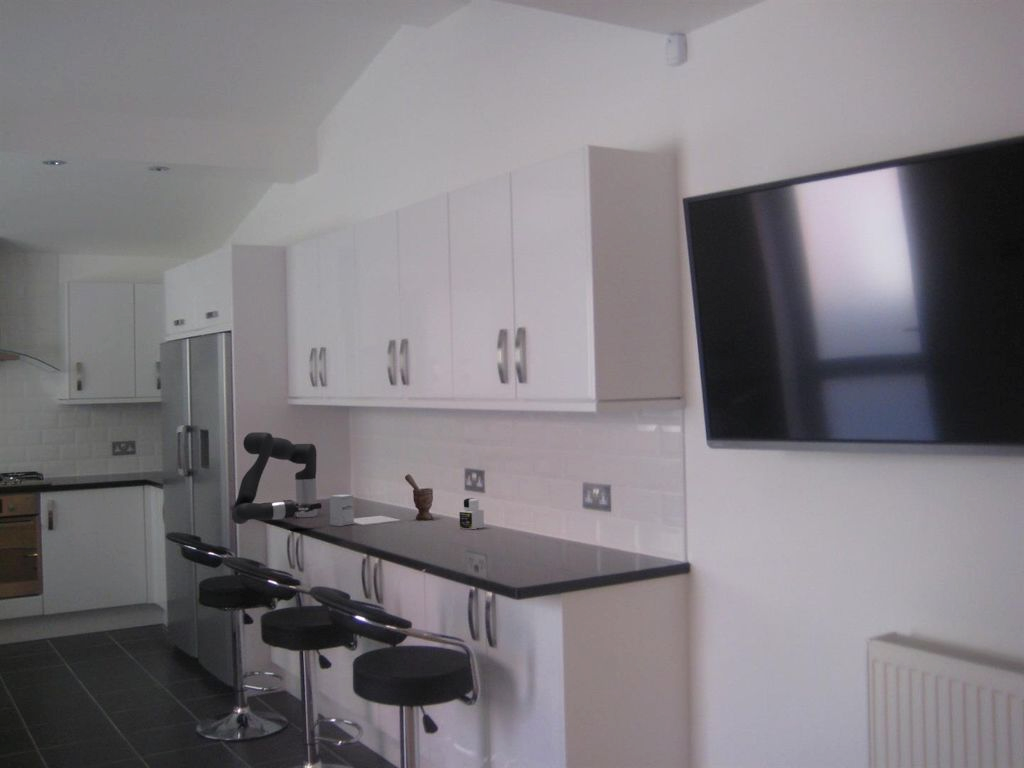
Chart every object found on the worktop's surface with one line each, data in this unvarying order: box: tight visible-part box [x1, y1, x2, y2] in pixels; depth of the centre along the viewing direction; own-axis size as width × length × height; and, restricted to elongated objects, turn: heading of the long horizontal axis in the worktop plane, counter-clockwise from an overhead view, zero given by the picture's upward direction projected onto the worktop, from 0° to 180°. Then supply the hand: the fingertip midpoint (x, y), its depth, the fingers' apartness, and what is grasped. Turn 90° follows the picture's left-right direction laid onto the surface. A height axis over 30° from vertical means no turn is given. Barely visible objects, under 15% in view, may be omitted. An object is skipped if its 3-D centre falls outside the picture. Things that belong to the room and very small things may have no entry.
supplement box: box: [329, 494, 355, 527], centre depth 449 cm, size 7×7×13 cm
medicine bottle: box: [458, 497, 485, 530], centre depth 426 cm, size 7×7×12 cm
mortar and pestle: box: [404, 473, 434, 521], centre depth 457 cm, size 12×9×20 cm
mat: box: [354, 515, 402, 527], centre depth 456 cm, size 20×18×1 cm
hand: (320, 505), depth 444 cm, fingers closed
